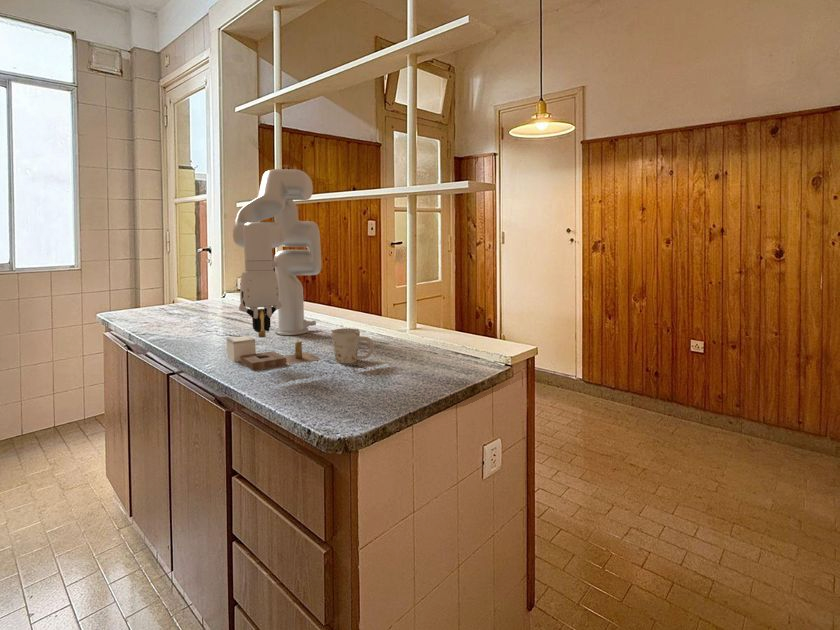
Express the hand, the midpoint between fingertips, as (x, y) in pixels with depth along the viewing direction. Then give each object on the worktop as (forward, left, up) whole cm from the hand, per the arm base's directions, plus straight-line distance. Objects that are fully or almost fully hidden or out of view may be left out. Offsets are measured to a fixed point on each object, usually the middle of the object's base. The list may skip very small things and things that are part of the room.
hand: (261, 330), depth 148 cm
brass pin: (0, 0, -2) cm, 2 cm away
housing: (+3, -10, -11) cm, 15 cm away
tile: (-11, 0, -11) cm, 16 cm away
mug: (-23, +12, -11) cm, 28 cm away
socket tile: (0, 0, -11) cm, 11 cm away
